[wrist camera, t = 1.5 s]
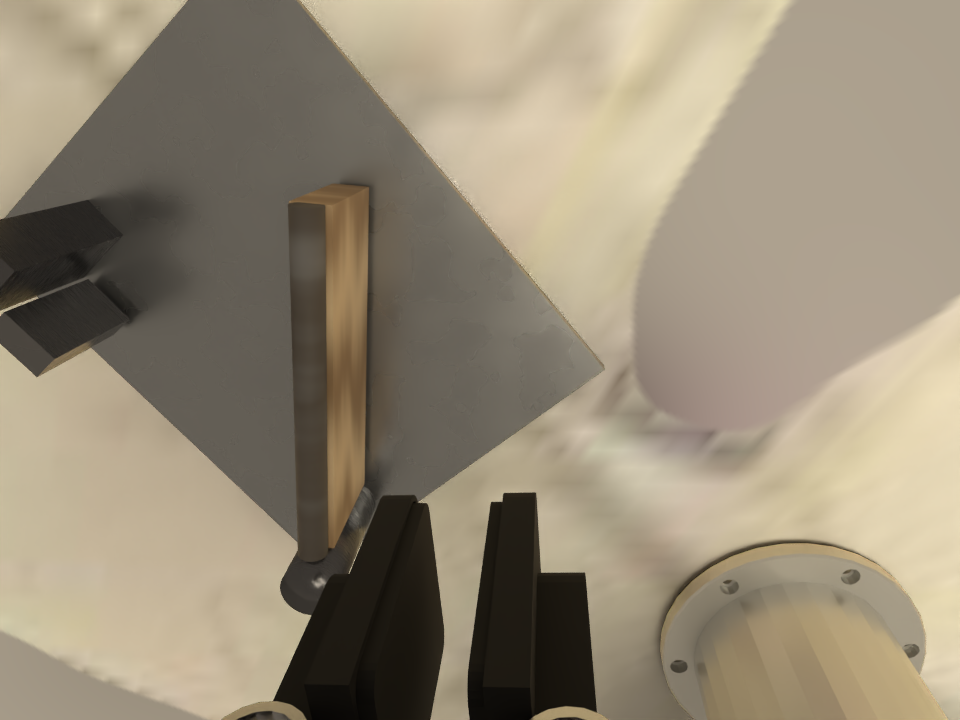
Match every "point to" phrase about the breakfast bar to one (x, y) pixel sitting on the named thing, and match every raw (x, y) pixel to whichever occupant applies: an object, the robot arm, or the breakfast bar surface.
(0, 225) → the gate frame
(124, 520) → the breakfast bar surface
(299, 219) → the gate
